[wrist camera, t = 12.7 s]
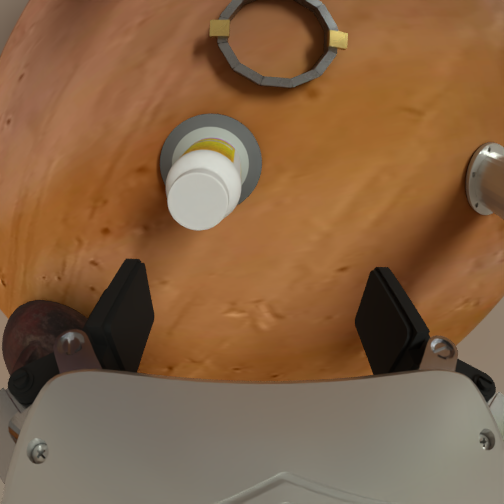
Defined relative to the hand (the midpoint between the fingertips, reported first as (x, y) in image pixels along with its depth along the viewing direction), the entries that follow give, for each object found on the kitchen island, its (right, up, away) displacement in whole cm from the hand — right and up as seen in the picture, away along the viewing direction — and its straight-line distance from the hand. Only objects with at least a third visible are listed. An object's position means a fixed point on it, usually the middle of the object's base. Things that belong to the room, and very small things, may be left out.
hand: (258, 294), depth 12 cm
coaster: (-5, +12, +22) cm, 25 cm away
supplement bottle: (-5, +12, +21) cm, 24 cm away
